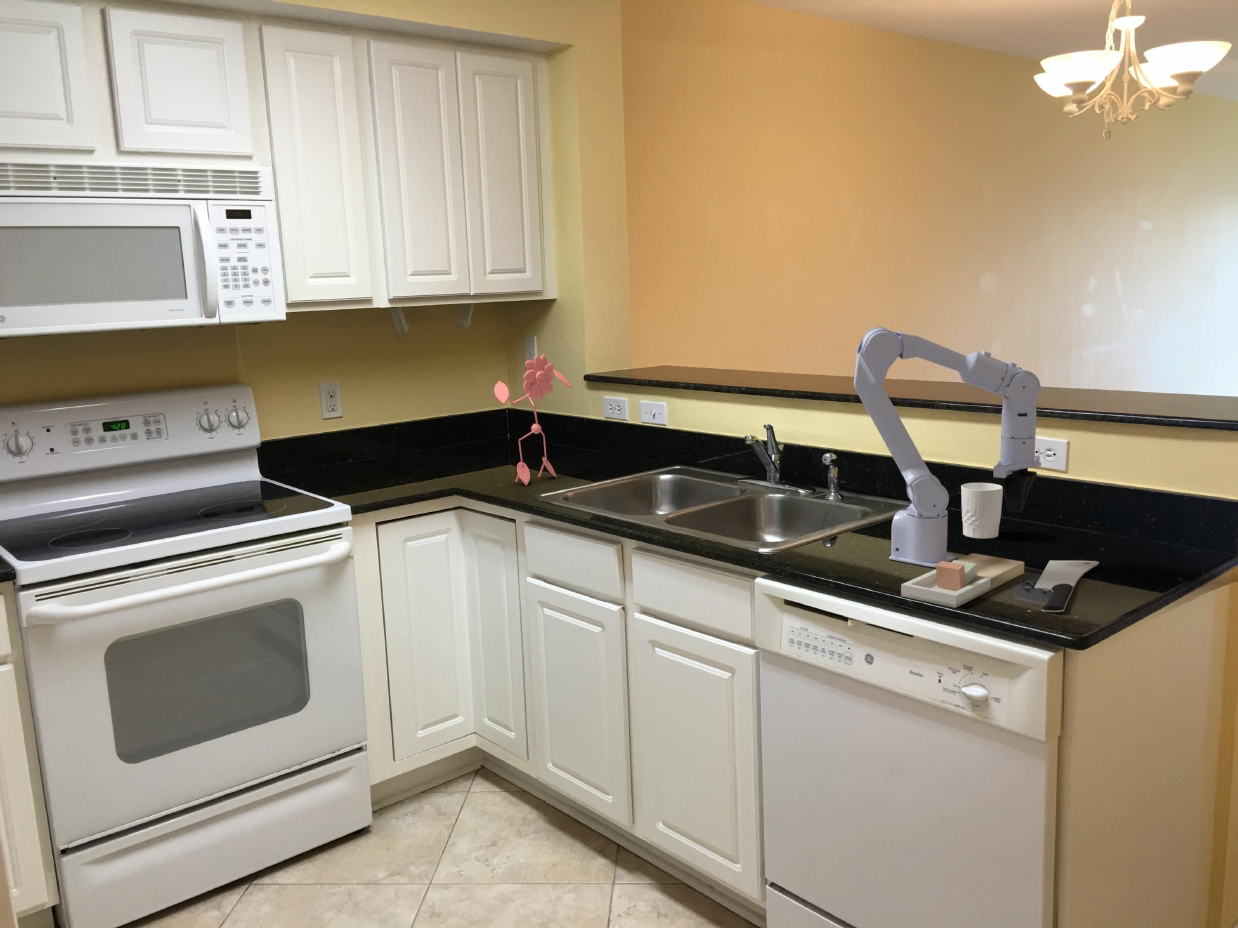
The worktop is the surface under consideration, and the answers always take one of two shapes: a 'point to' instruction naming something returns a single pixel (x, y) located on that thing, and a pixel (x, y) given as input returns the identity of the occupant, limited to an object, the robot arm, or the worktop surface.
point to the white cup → (981, 509)
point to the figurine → (537, 385)
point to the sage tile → (968, 570)
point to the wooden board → (994, 568)
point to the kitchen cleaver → (1061, 582)
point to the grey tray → (942, 590)
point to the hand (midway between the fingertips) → (1015, 511)
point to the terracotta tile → (950, 576)
